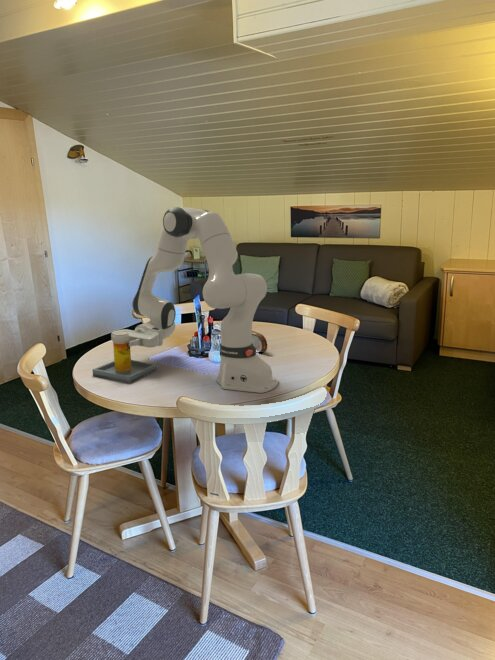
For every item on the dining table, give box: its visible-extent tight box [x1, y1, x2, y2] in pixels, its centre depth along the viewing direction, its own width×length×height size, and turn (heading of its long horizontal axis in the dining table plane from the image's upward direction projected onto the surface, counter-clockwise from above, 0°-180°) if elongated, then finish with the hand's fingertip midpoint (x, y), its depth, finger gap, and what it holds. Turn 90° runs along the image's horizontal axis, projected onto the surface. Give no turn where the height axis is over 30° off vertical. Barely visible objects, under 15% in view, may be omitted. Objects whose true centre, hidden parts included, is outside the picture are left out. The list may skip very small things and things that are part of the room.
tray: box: [92, 359, 158, 384], centre depth 185 cm, size 18×16×2 cm
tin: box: [251, 330, 268, 353], centre depth 212 cm, size 15×3×8 cm, turn 34°
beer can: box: [112, 331, 132, 373], centre depth 183 cm, size 6×6×15 cm
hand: (121, 343), depth 181 cm, fingers closed on beer can, 5 cm apart
